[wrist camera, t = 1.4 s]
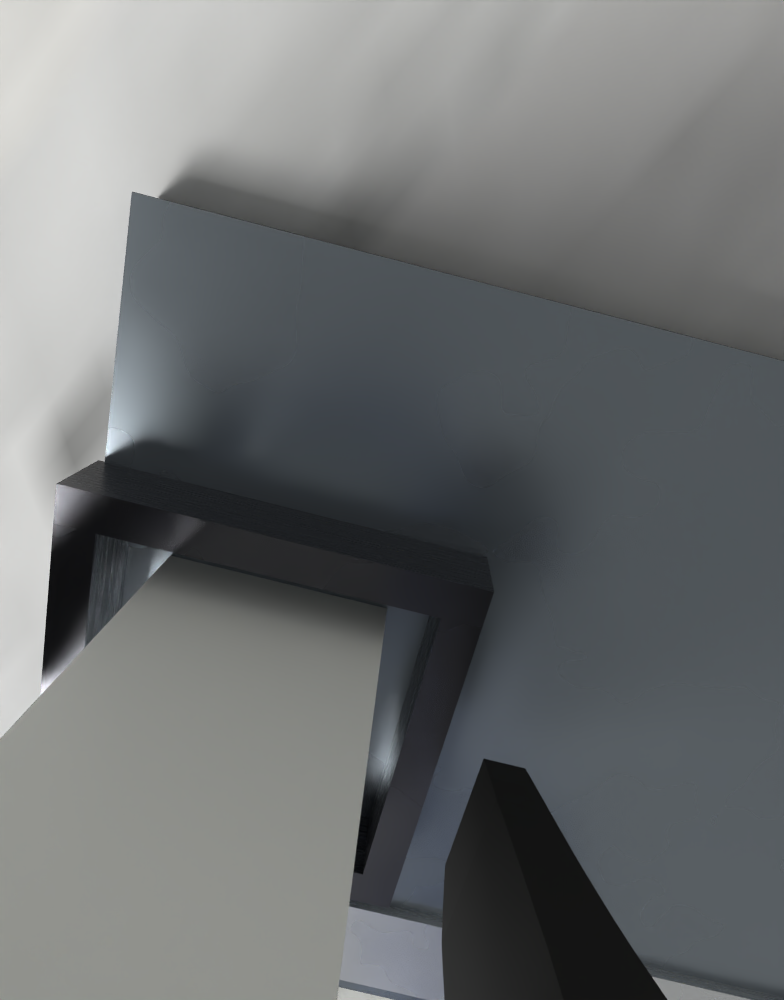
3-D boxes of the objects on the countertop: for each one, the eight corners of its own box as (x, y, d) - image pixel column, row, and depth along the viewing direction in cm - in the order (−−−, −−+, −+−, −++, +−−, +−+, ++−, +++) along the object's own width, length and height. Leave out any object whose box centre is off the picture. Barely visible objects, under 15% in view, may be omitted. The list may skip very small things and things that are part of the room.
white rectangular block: (340, 780, 12) (196, 1585, 5) (145, 733, 12) (-323, 1484, 4) (387, 608, 11) (294, 1327, 3) (170, 555, 11) (-407, 1176, 3)
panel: (1042, 1109, 15) (1132, 1232, 13) (73, 886, 14) (18, 981, 12) (1549, 560, 10) (1805, 625, 8) (149, 196, 10) (80, 177, 8)
